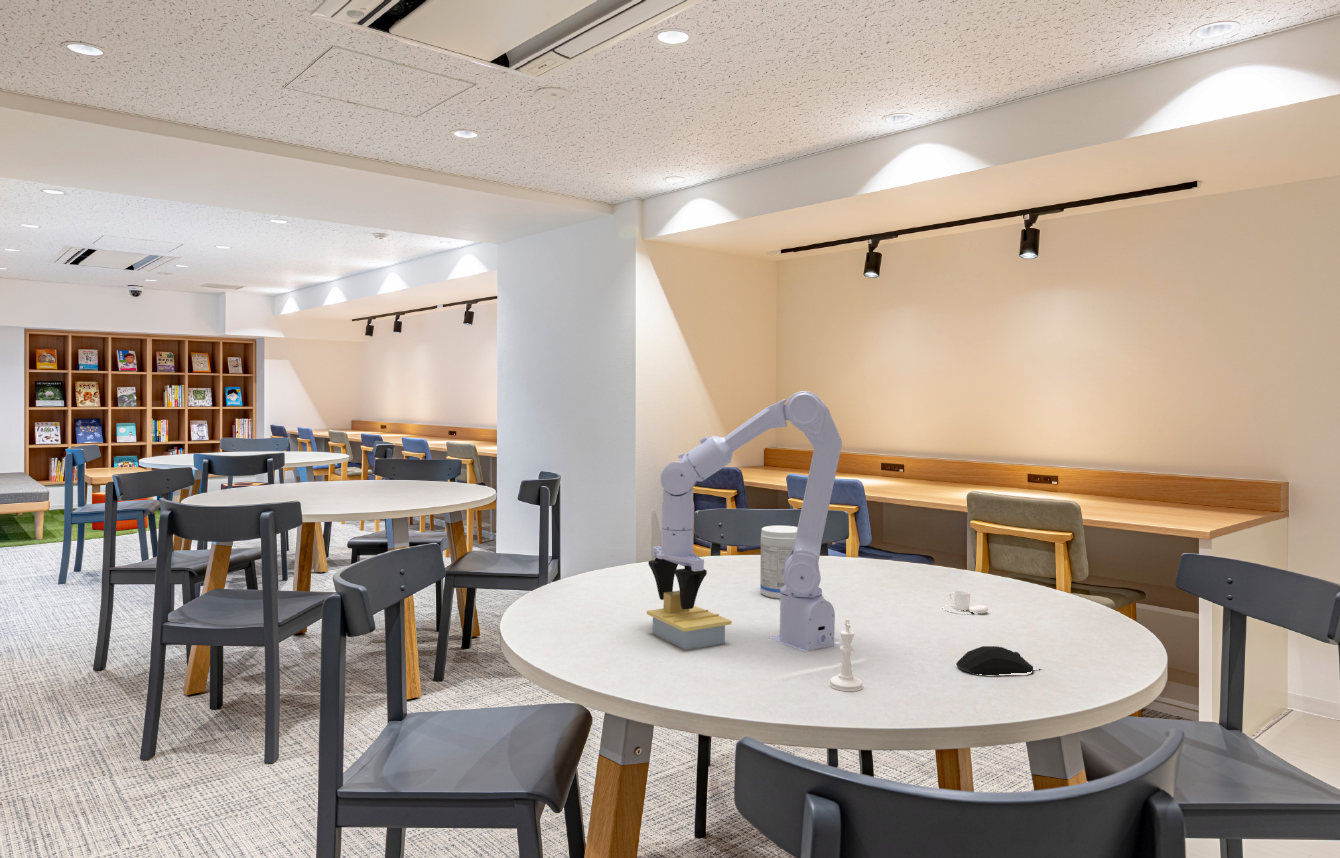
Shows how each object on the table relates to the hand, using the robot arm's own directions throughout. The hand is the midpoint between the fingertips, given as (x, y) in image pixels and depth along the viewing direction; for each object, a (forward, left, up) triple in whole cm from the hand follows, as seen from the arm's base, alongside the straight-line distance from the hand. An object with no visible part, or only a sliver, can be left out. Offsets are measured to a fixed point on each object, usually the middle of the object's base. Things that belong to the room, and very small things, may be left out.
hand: (676, 603), depth 144 cm
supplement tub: (+16, -37, -6) cm, 41 cm away
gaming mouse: (-41, -37, -6) cm, 55 cm away
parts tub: (-4, 0, -6) cm, 7 cm away
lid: (-4, 0, -2) cm, 4 cm away
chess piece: (-34, -9, -6) cm, 36 cm away
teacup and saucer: (-14, -60, -7) cm, 62 cm away
